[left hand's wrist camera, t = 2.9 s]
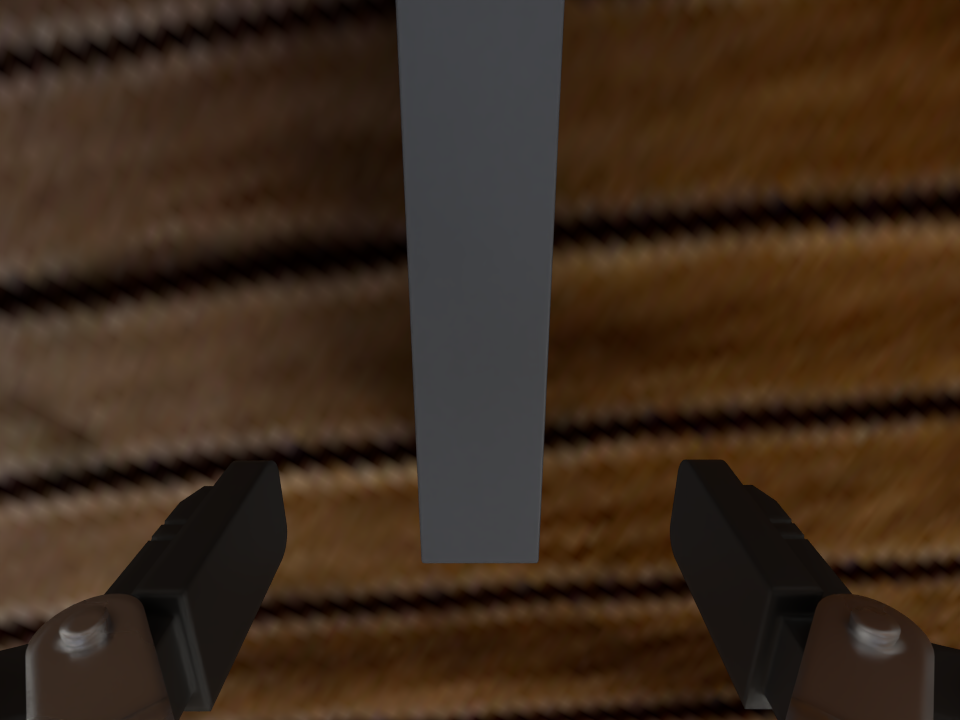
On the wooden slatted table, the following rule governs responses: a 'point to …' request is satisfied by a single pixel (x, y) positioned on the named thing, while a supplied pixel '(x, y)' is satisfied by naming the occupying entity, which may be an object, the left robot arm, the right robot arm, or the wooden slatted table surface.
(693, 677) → the wooden slatted table surface
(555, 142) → the beam
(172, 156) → the wooden slatted table surface
